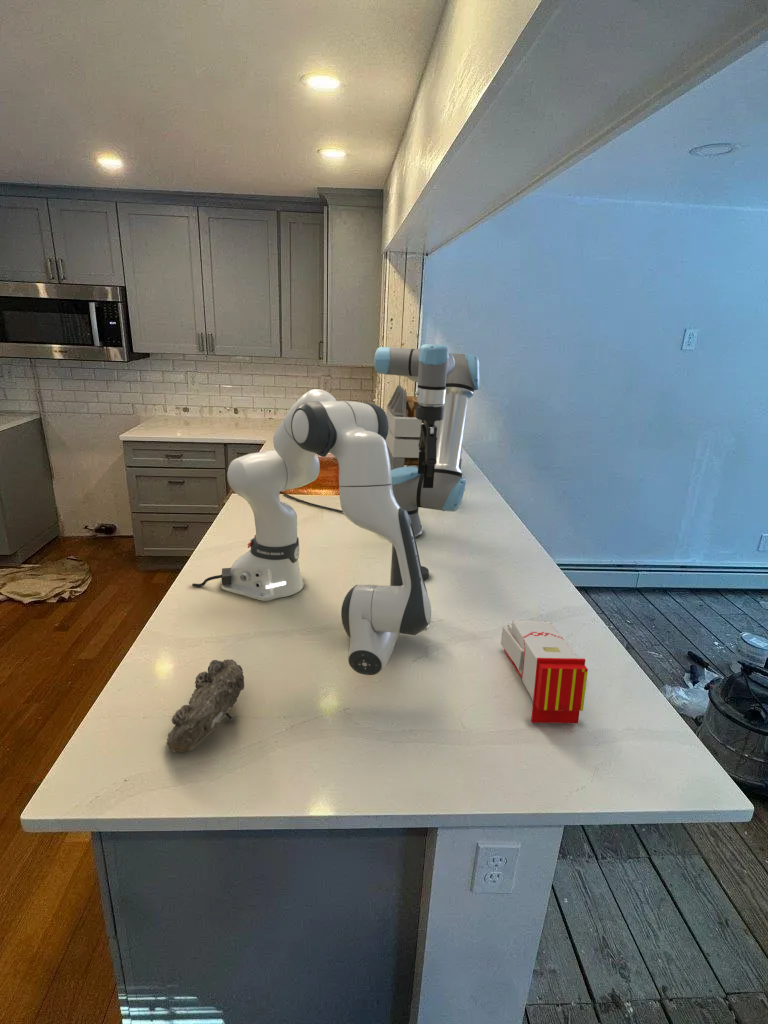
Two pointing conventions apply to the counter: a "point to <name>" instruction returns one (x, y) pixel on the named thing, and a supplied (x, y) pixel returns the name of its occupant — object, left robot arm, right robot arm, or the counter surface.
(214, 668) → the fossil
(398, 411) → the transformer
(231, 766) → the counter surface
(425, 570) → the lid
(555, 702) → the toy
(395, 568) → the dark gray cylinder
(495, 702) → the counter surface
